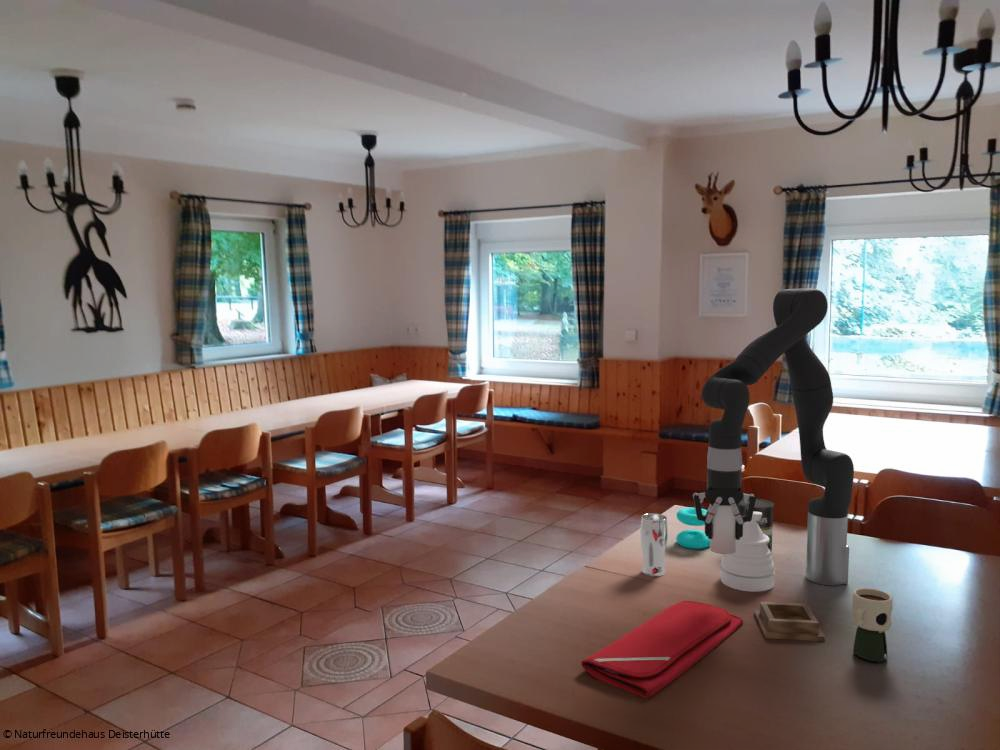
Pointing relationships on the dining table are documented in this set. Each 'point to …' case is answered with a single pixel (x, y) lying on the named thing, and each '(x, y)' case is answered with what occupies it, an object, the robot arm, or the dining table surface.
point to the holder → (788, 621)
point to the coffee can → (765, 520)
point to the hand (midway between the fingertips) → (723, 538)
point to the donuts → (692, 537)
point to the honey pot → (749, 560)
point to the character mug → (871, 622)
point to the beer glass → (653, 543)
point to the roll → (723, 531)
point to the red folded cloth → (662, 647)
